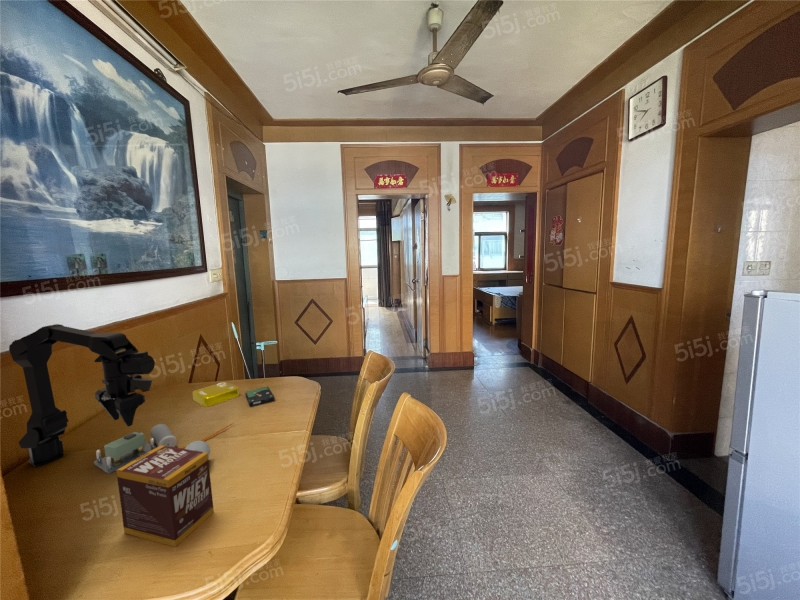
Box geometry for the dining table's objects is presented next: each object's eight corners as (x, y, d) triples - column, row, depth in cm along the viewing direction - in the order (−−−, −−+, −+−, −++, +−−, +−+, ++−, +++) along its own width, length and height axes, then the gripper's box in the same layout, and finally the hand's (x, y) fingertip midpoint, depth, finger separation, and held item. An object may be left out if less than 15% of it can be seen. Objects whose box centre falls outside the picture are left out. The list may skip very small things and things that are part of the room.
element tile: (191, 400, 148) (190, 390, 148) (225, 389, 160) (224, 380, 159) (206, 408, 139) (205, 397, 139) (241, 396, 151) (240, 386, 150)
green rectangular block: (116, 459, 99) (114, 446, 98) (105, 456, 100) (103, 443, 100) (145, 444, 107) (144, 432, 106) (135, 441, 108) (134, 430, 108)
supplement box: (176, 547, 70) (167, 480, 68) (123, 533, 74) (114, 469, 72) (215, 512, 80) (209, 452, 78) (167, 501, 84) (160, 444, 82)
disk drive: (275, 402, 144) (268, 391, 156) (275, 396, 143) (268, 385, 156) (250, 408, 138) (244, 396, 150) (249, 402, 138) (244, 391, 150)
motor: (160, 458, 102) (162, 443, 102) (147, 434, 118) (148, 420, 118) (238, 439, 119) (239, 426, 119) (217, 421, 135) (218, 408, 135)
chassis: (108, 473, 96) (106, 459, 95) (94, 464, 100) (92, 450, 100) (158, 451, 107) (156, 438, 106) (143, 443, 112) (142, 431, 111)
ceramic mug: (212, 457, 102) (209, 434, 101) (209, 472, 95) (205, 448, 94) (171, 468, 98) (168, 444, 97) (165, 484, 90) (161, 458, 90)
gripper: (161, 370, 103) (166, 417, 105) (133, 363, 112) (139, 406, 114) (117, 382, 93) (124, 434, 95) (91, 373, 102) (98, 420, 104)
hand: (123, 422), depth 102 cm, fingers open, 9 cm apart
